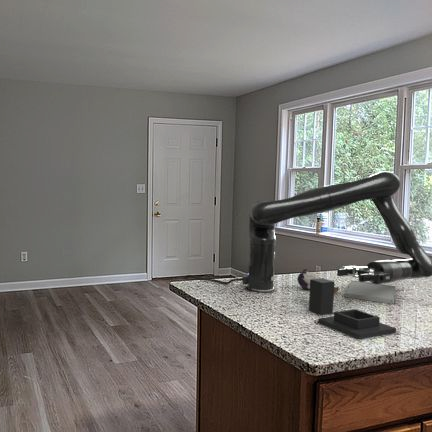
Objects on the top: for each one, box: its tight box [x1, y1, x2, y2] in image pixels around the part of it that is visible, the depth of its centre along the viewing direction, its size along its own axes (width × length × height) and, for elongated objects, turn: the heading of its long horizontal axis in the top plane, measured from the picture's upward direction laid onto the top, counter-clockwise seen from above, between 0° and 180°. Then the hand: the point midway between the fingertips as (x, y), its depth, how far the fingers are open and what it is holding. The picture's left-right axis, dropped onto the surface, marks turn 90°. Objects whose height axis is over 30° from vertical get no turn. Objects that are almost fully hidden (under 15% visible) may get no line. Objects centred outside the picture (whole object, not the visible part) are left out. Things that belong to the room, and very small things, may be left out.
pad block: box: [308, 277, 335, 316], centre depth 136 cm, size 5×5×10 cm
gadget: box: [344, 279, 398, 305], centre depth 160 cm, size 23×15×4 cm, turn 147°
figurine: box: [296, 268, 340, 295], centre depth 163 cm, size 10×6×15 cm
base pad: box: [317, 308, 397, 340], centre depth 122 cm, size 14×14×4 cm
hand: (348, 275), depth 140 cm, fingers open, 8 cm apart
